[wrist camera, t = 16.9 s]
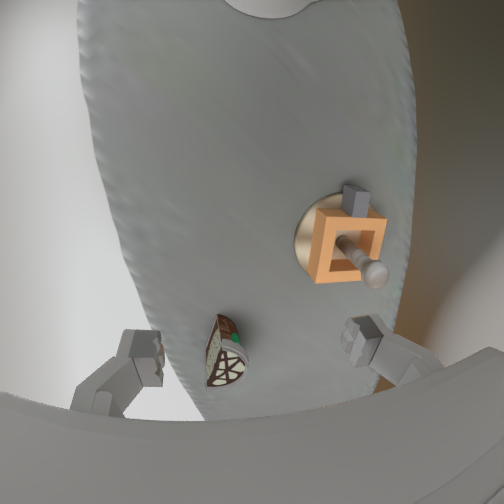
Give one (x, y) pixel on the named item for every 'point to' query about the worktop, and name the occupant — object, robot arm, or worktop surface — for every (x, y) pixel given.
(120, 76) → the worktop surface
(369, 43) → the worktop surface
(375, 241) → the orange square frame
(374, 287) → the round peg stand
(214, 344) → the food container
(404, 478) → the robot arm
